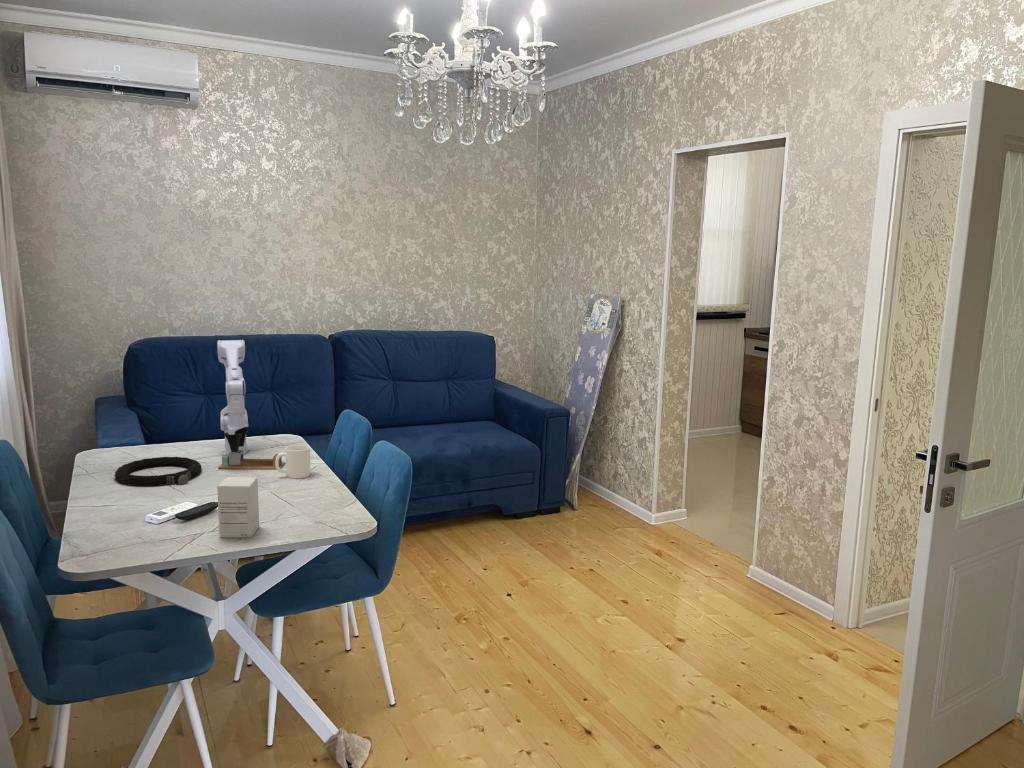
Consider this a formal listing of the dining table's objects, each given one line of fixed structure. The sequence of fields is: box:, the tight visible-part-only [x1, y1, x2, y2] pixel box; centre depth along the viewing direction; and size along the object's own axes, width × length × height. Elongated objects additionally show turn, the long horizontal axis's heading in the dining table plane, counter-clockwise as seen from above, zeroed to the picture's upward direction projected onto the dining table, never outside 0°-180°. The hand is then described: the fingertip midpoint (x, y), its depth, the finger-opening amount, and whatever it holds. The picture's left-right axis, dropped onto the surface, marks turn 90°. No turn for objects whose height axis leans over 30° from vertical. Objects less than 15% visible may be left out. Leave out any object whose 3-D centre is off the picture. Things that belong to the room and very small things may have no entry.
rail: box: [217, 453, 286, 471], centre depth 275 cm, size 8×22×4 cm, turn 95°
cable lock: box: [113, 456, 203, 487], centre depth 261 cm, size 28×4×30 cm
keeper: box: [229, 450, 245, 466], centre depth 274 cm, size 4×4×5 cm
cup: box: [275, 444, 311, 480], centre depth 264 cm, size 8×12×10 cm
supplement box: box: [216, 476, 260, 538], centre depth 210 cm, size 9×9×15 cm
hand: (237, 449), depth 274 cm, fingers open, 7 cm apart
